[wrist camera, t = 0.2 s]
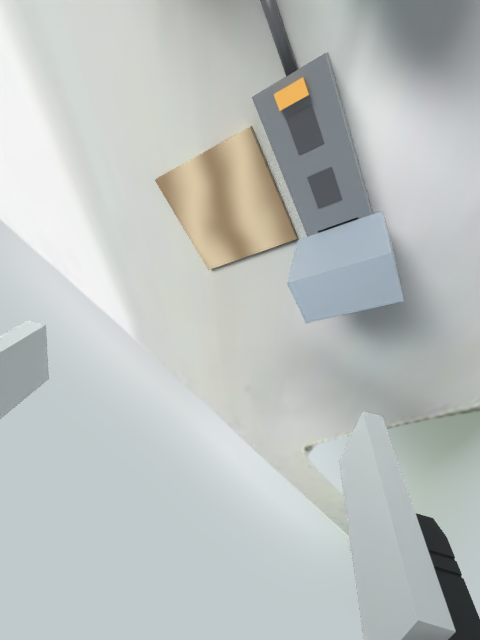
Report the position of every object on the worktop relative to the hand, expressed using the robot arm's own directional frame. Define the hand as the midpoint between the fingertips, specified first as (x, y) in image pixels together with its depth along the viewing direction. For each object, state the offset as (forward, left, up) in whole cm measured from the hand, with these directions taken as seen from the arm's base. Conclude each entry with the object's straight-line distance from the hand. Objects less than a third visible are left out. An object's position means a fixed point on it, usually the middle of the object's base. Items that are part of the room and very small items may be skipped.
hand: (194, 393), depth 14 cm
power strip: (-4, -2, -27) cm, 28 cm away
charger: (-4, +7, -25) cm, 27 cm away
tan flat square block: (+7, 0, -27) cm, 28 cm away
